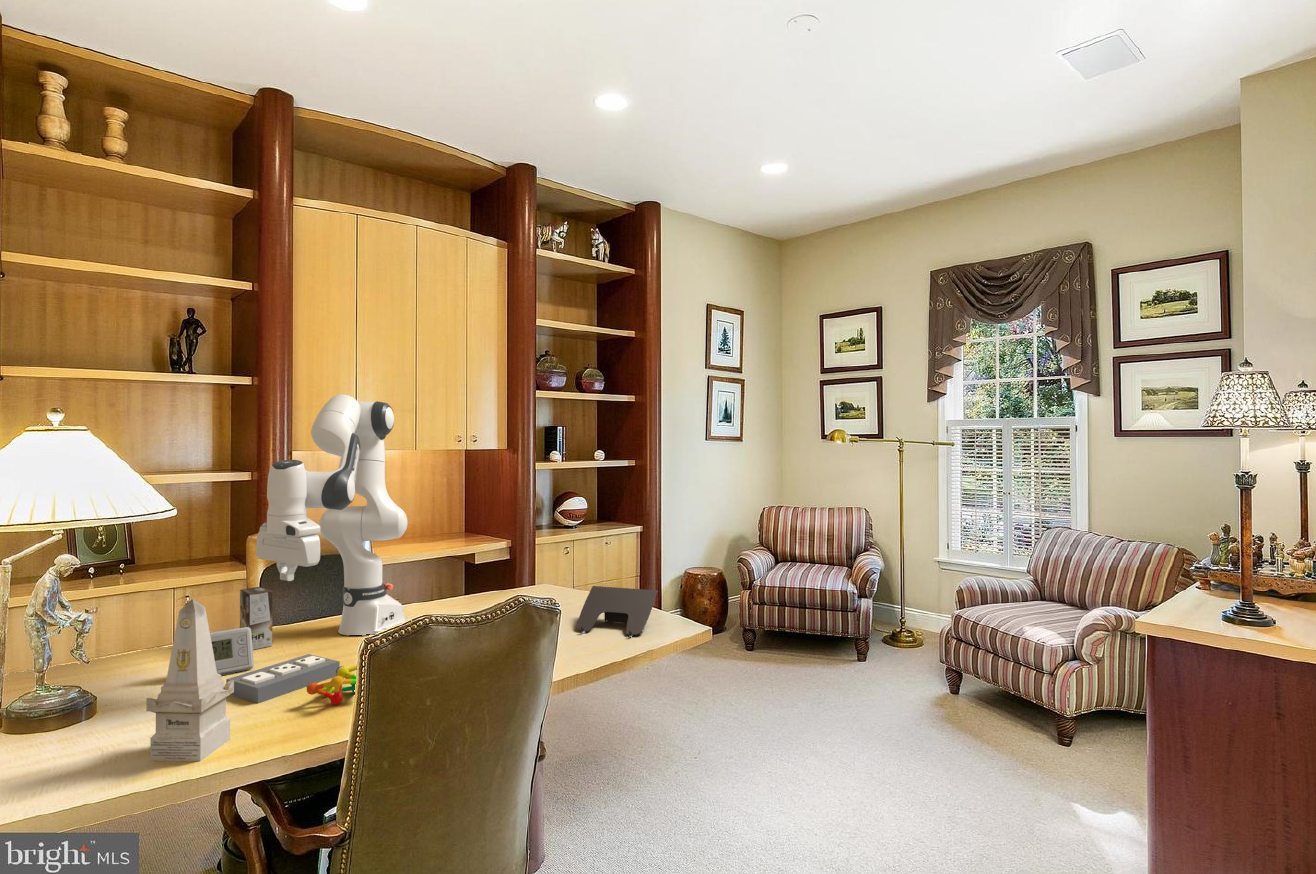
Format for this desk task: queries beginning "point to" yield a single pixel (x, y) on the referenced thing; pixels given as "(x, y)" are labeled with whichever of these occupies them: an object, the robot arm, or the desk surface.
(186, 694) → the miniature monument
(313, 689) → the decorative model
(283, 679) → the button panel
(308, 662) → the button
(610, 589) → the portable electronic device stand
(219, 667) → the digital clock
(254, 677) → the button
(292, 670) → the button
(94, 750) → the desk surface
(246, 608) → the coffee box
